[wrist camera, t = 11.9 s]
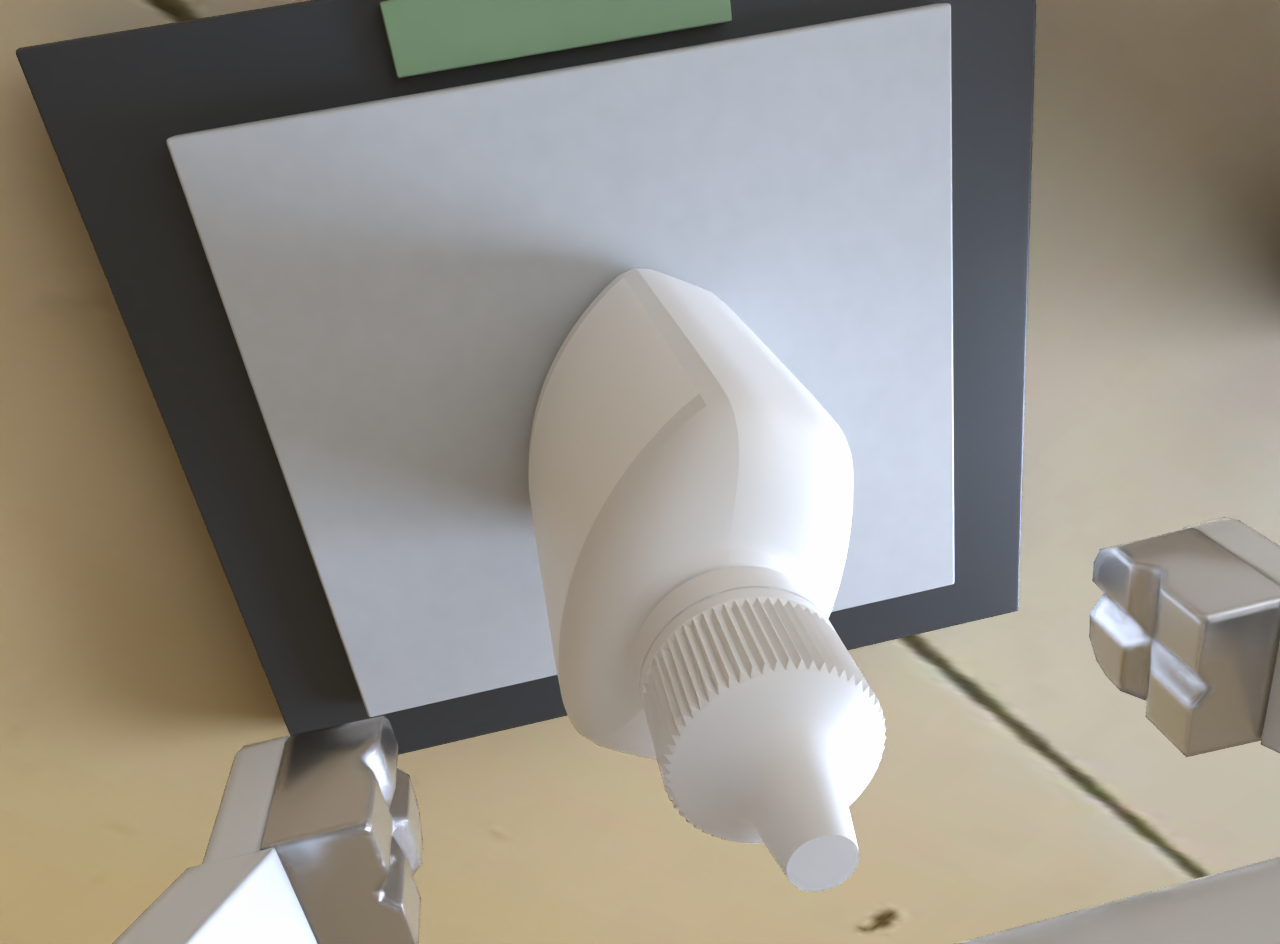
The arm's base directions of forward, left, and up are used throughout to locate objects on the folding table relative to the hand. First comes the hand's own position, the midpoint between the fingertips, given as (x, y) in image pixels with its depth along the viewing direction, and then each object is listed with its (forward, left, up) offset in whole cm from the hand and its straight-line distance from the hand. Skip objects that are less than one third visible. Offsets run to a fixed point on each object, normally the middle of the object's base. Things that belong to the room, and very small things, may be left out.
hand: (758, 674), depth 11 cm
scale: (0, 0, -12) cm, 12 cm away
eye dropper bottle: (0, 0, -10) cm, 10 cm away
